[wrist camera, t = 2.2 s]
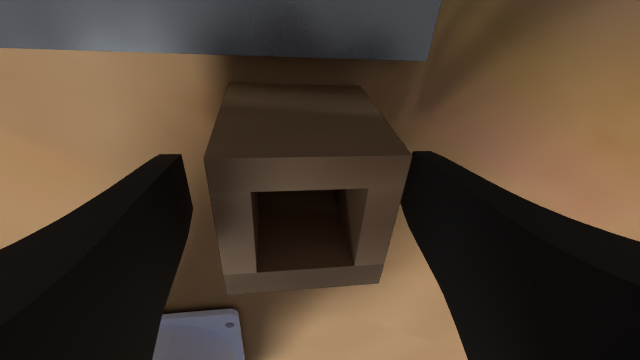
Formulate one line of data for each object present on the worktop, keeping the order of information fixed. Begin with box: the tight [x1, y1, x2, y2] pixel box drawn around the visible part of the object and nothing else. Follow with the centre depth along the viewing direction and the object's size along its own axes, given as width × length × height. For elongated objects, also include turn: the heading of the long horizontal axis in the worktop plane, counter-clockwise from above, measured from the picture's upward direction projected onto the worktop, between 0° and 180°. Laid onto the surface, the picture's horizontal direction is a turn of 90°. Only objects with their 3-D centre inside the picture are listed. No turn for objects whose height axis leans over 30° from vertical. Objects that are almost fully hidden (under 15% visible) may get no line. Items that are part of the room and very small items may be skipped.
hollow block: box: [204, 84, 413, 295], centre depth 10 cm, size 5×5×5 cm
